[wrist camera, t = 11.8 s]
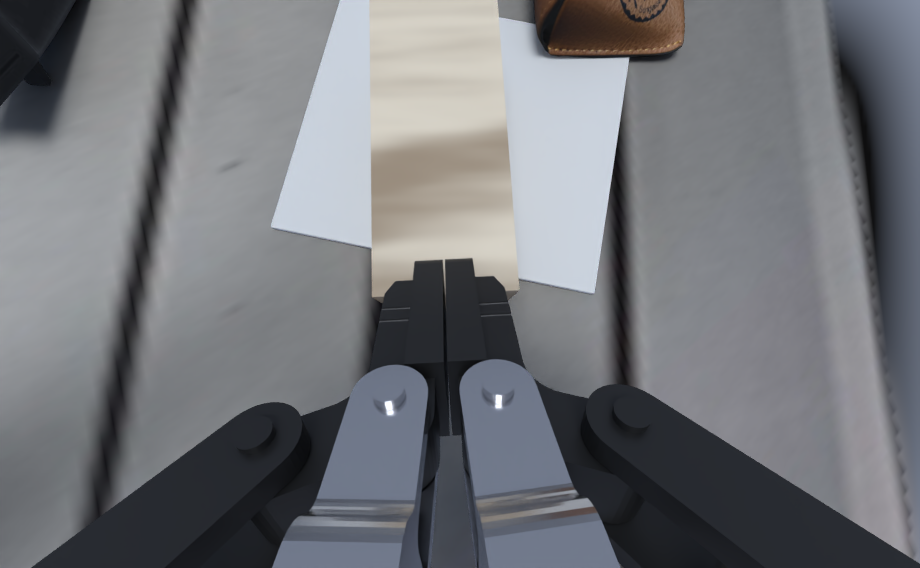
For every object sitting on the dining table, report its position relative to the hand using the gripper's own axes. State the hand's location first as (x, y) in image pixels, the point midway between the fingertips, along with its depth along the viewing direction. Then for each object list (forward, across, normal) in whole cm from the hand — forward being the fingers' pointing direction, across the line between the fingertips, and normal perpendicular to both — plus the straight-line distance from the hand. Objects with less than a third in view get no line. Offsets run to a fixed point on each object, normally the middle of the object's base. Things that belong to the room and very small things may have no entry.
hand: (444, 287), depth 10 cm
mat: (+12, -1, -1) cm, 12 cm away
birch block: (+4, 0, +3) cm, 5 cm away
